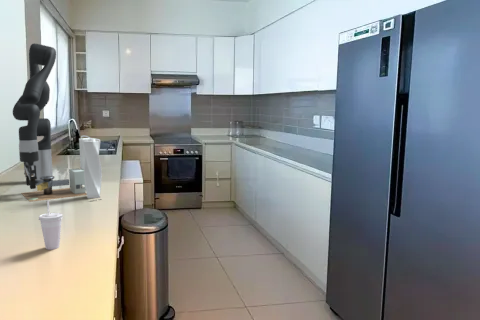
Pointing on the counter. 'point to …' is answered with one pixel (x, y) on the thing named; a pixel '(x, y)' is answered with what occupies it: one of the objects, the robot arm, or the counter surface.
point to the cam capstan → (49, 184)
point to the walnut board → (55, 194)
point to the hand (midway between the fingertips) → (31, 187)
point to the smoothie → (51, 228)
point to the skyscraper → (92, 167)
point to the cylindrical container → (82, 153)
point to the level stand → (77, 181)
